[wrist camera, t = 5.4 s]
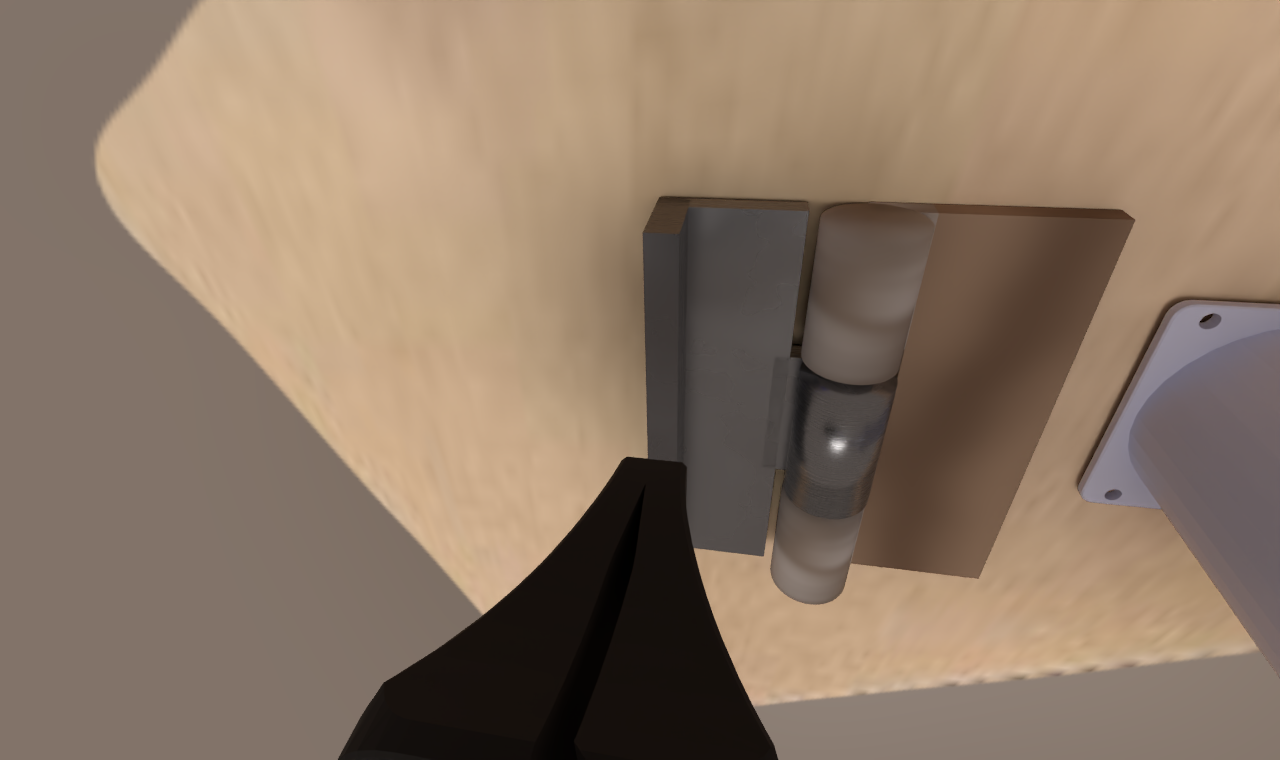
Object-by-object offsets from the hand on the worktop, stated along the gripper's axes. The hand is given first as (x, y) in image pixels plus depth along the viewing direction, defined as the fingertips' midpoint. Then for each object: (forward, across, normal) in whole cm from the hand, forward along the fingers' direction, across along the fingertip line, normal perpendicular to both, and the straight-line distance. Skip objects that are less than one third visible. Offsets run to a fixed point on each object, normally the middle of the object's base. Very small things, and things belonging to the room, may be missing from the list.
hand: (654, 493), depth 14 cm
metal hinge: (+9, -3, +4) cm, 10 cm away
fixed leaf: (+9, -8, +4) cm, 13 cm away
